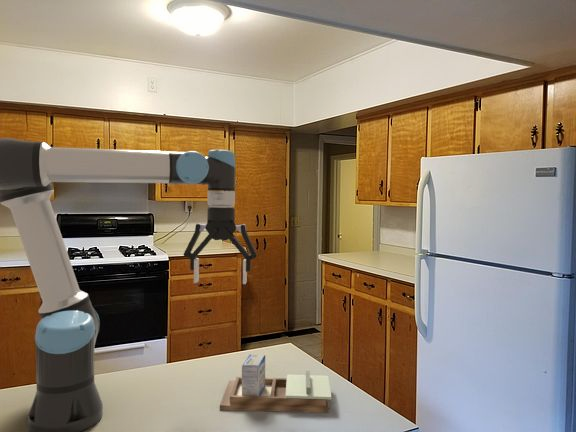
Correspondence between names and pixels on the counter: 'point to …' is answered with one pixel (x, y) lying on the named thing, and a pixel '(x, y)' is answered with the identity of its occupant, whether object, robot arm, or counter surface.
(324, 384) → the lid
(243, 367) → the medicine box
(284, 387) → the brown compartment box
